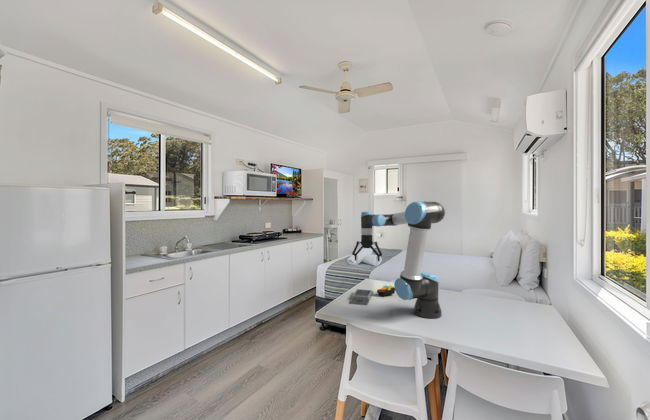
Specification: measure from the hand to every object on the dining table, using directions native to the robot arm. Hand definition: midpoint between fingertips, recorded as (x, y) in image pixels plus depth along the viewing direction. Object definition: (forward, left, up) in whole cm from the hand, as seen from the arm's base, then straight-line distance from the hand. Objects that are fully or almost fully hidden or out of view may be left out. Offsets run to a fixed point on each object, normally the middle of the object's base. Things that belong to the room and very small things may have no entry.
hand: (367, 265), depth 192 cm
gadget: (+5, -9, -22) cm, 25 cm away
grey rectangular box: (-2, +3, -21) cm, 21 cm away
